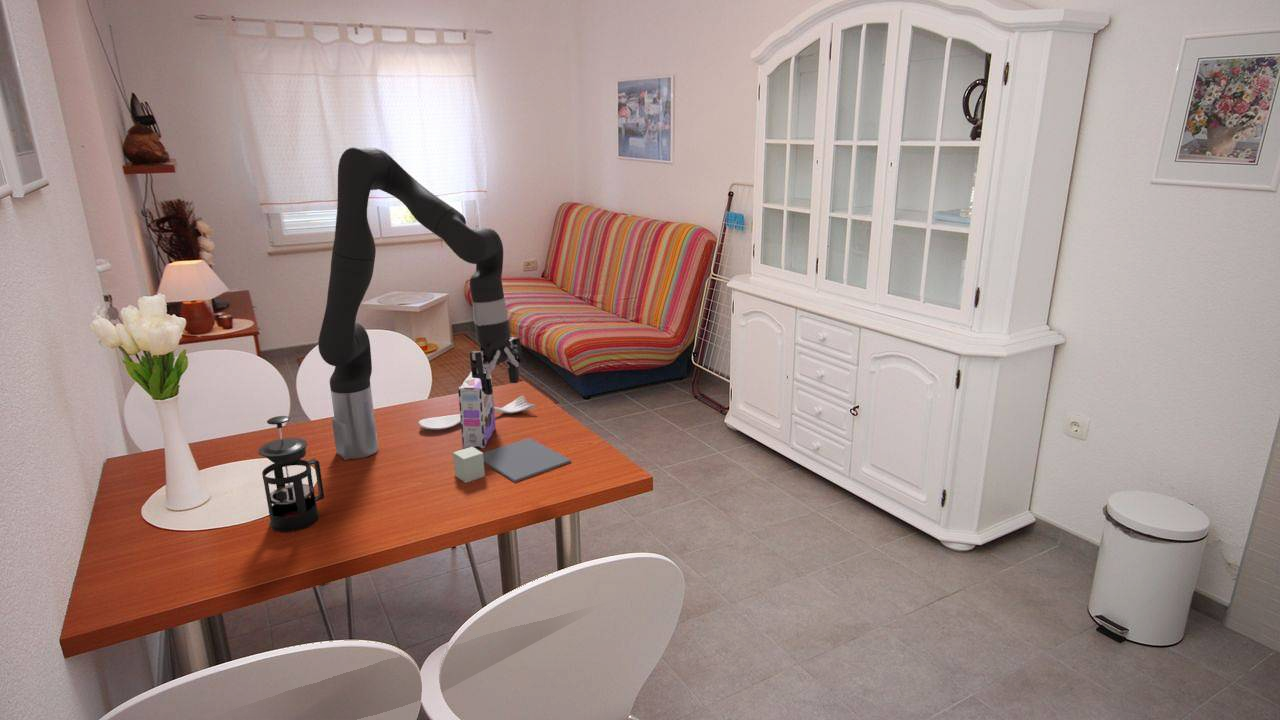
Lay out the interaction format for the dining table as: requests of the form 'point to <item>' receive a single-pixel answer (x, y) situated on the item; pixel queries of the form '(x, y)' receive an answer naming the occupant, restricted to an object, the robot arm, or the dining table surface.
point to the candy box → (475, 413)
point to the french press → (291, 495)
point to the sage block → (468, 464)
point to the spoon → (453, 420)
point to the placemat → (523, 459)
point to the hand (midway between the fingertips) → (501, 388)
